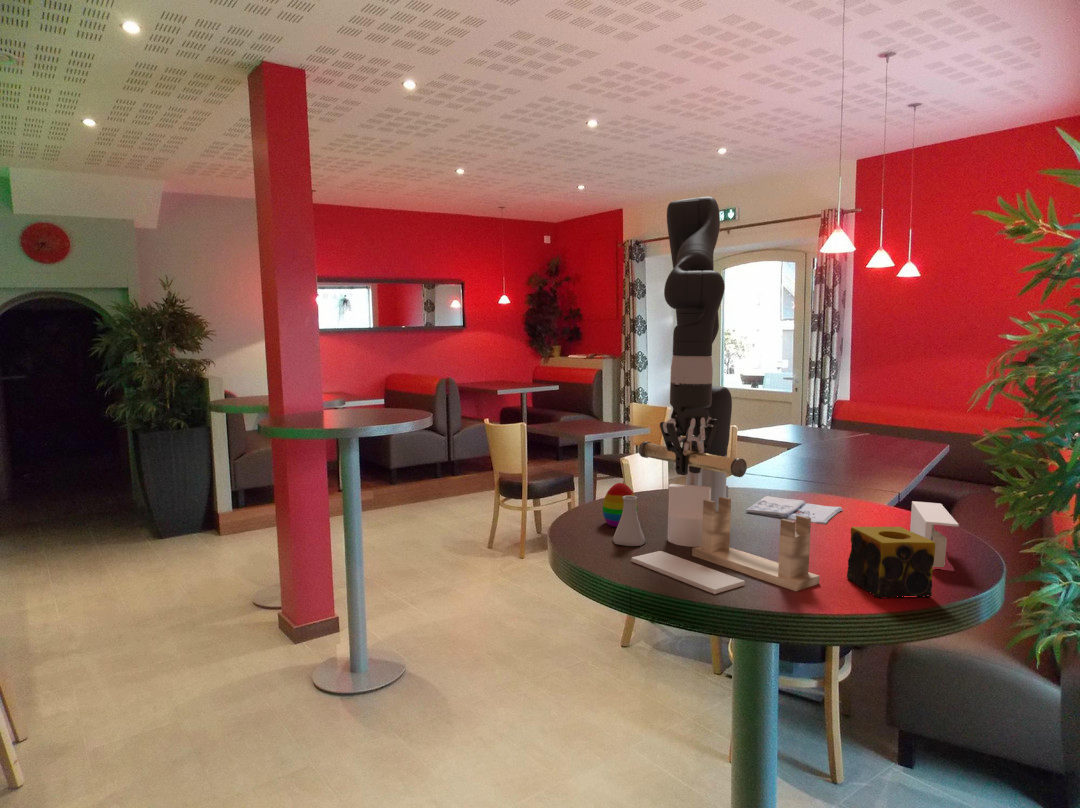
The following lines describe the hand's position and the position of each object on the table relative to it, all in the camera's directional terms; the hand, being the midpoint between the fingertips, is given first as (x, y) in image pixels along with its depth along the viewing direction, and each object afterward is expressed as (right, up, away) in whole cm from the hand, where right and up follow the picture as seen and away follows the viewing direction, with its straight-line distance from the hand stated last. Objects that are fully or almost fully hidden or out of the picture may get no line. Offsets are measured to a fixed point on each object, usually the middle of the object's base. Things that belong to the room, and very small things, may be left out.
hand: (688, 473), depth 127 cm
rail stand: (+13, -19, +4) cm, 23 cm away
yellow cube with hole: (+35, -20, -5) cm, 40 cm away
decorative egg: (-9, -16, +35) cm, 40 cm away
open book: (+38, -16, +50) cm, 65 cm away
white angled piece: (+53, -19, +14) cm, 58 cm away
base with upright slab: (+5, -17, +23) cm, 29 cm away
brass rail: (0, +1, 0) cm, 1 cm away
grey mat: (0, -19, +2) cm, 19 cm away
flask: (-8, -17, +21) cm, 28 cm away
